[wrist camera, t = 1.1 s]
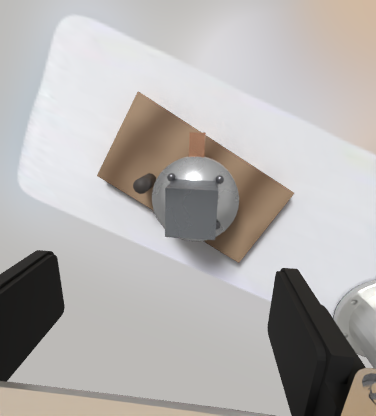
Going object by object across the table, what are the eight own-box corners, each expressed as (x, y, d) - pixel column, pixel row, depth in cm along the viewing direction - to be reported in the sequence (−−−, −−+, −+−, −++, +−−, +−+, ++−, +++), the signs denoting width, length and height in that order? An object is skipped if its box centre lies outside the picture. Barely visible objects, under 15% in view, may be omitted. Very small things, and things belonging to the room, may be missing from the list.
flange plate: (233, 238, 27) (239, 265, 21) (155, 233, 28) (140, 258, 22) (243, 134, 24) (253, 132, 18) (154, 131, 24) (136, 129, 19)
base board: (289, 189, 29) (307, 202, 24) (237, 255, 33) (242, 280, 27) (143, 94, 28) (125, 83, 22) (104, 173, 31) (79, 181, 25)
